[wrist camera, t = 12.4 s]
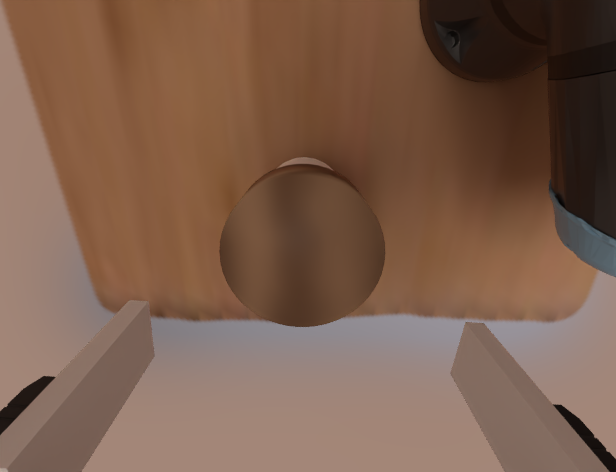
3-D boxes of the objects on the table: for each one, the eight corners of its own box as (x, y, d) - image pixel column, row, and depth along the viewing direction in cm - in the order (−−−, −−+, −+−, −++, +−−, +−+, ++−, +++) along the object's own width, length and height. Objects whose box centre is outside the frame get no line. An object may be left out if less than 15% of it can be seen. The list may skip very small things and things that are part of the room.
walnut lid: (380, 169, 25) (398, 182, 20) (361, 295, 28) (372, 331, 24) (235, 158, 24) (218, 168, 19) (235, 287, 28) (220, 322, 23)
